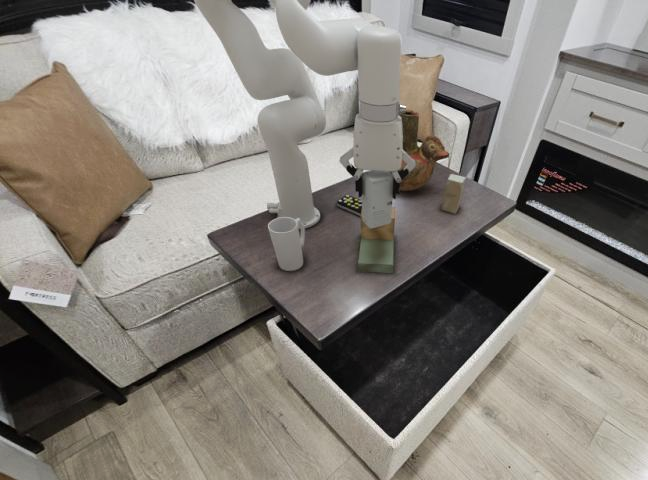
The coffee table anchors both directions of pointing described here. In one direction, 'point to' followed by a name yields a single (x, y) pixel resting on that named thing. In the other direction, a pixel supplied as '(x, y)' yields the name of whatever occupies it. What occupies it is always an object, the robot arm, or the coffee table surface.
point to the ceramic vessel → (419, 153)
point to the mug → (287, 242)
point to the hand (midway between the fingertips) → (377, 194)
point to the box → (453, 193)
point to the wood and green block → (377, 247)
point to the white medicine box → (377, 198)
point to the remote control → (350, 204)
